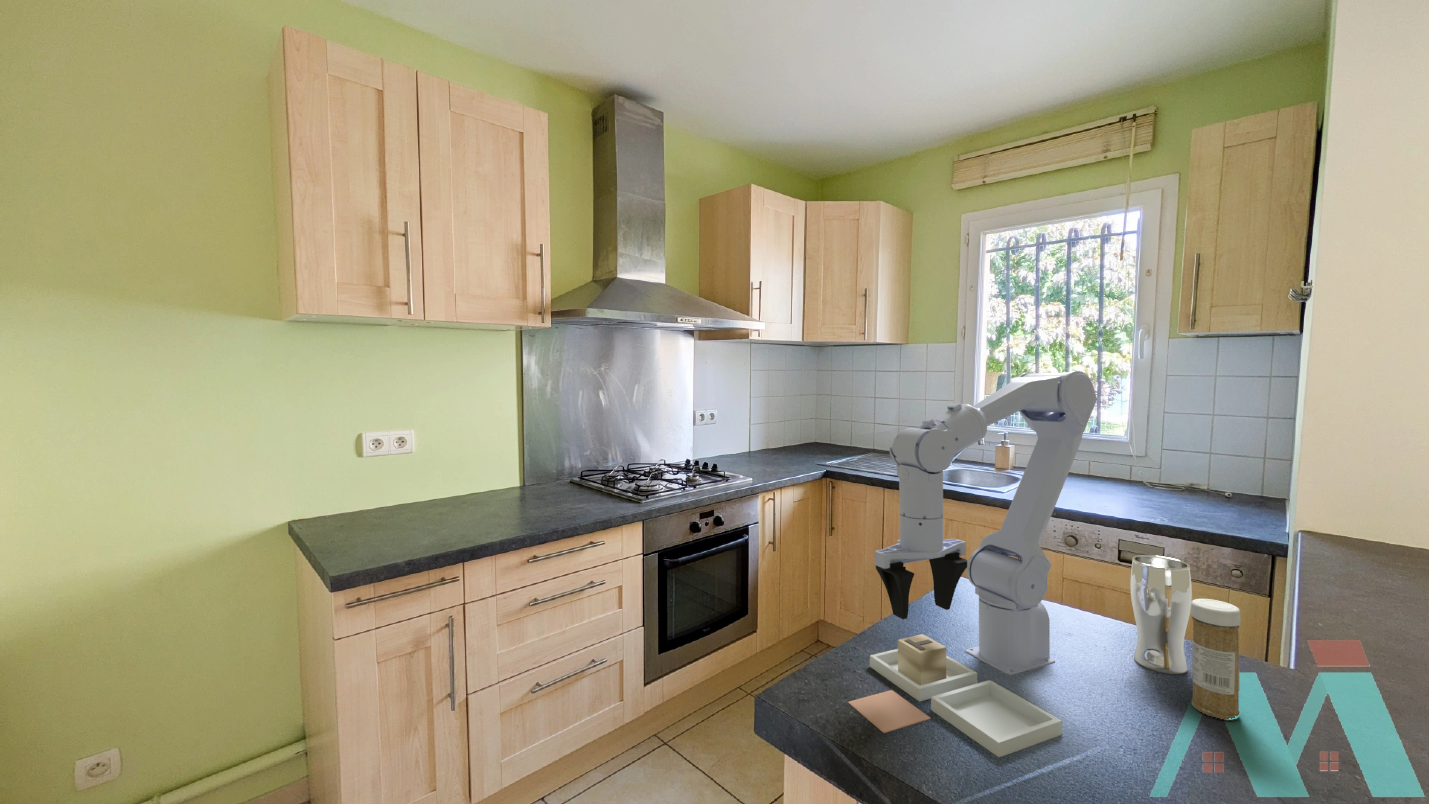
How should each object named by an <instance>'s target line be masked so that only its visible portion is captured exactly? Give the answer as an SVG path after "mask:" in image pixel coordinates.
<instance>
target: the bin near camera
mask: <svg viewBox="0 0 1429 804" xmlns="http://www.w3.org/2000/svg"><path fill="white" fill-rule="evenodd" d="M930 710H931V712H933V713H935V714H936V715H938V717H941V719H943V720H945V721H946V722H948V723H949V724H951V725H952V726H953V727H955V728H956V729H957V730H959V731H960V732H962V733H963V734H964V735H966V736H968V737H969V738H970V739H971V740H973V741H974V742H976V743H978V745H981V746H982V747H983V748H985V749H986V750H987V751H989V752H990V753H992V754H993V755H994V756H996V757H998V758H1002V757H1005V756H1008V755H1010V754H1013V753H1016V752H1019V751H1021V750H1024V749H1026V748H1030V747H1031V746H1032V747H1033V746H1035V745H1038V744H1041V743H1043V742H1046V741H1049V740H1052V739H1054V738H1057V737H1060V736H1062V735H1063V720H1061V719H1060V718H1059V717H1056V716H1055V715H1053V714H1051V713H1049V712H1047V711H1046V710H1044V709H1042V708H1040V707H1039V706H1037V705H1035V704H1033V703H1032V702H1030V701H1028V700H1026V699H1024V698H1022V697H1021V696H1019V695H1018V694H1016V693H1013V692H1012V691H1011V690H1009V689H1007V688H1005V687H1003V686H1001V685H1000V684H998V683H996V682H995V681H992V680H991V679H989V680H985V681H981V682H978V683H977V684H974V685H970V686H967V687H963V688H960V689H956V690H953V691H949V692H946V693H943V694H939V695H936V696H932V697H931V699H930Z"/></svg>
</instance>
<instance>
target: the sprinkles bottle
mask: <svg viewBox="0 0 1429 804" xmlns="http://www.w3.org/2000/svg"><path fill="white" fill-rule="evenodd" d="M1190 616H1192V617H1191V619H1192V641H1191V642H1192V643H1191V644H1192V645H1191V647H1192V653H1191V655H1192V656H1191V657H1192V658H1191V661H1192V663H1191V667H1192V669H1191V671H1192V672H1191V674H1192V675H1191V676H1192V677H1191V679H1192V699H1191V705H1192V707H1193V708H1194V709H1195V710H1197V711H1198V712H1200V713H1201V712H1202V714H1203V715H1205V714H1206V715H1205V716H1208V717H1210V716H1213V717H1217V718H1222V719H1229V718H1231V719H1232V718H1235V716H1238V715H1239V713H1240V711H1239V708H1240V707H1239V705H1240V704H1239V702H1240V700H1239V697H1240V696H1239V693H1240V683H1241V682H1240V681H1241V679H1240V662H1239V661H1240V659H1239V656H1240V655H1239V654H1240V652H1239V650H1240V649H1239V647H1240V645H1239V629H1240V625H1241V619H1242V618H1241V610H1240V608H1239V607H1237V606H1235V605H1234V604H1231V603H1229V602H1225V601H1221V600H1217V599H1211V598H1196V599H1192V602H1191V610H1190ZM1213 717H1212V718H1213ZM1217 718H1216V719H1217ZM1222 719H1221V720H1222Z"/></svg>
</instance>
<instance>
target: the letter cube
mask: <svg viewBox="0 0 1429 804" xmlns="http://www.w3.org/2000/svg"><path fill="white" fill-rule="evenodd" d="M897 649H898V671H899V672H900V673H902V674H903V675H905V676H906V677H908V678H909V679H911V680H912V681H914V682H915V683H917V684H918V685H920V686H921V685H924V684H928V683H932V682H935V681H939V680H943V679H946V655H947V647H946V646H945V645H943V644H941V643H939V642H938V641H936V640H934V639H933V638H930V637H929V636H927V635H925V634H923V633H921V634H917V635H914V636H913V635H912V636H908V637H904V638H900V639H897Z"/></svg>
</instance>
